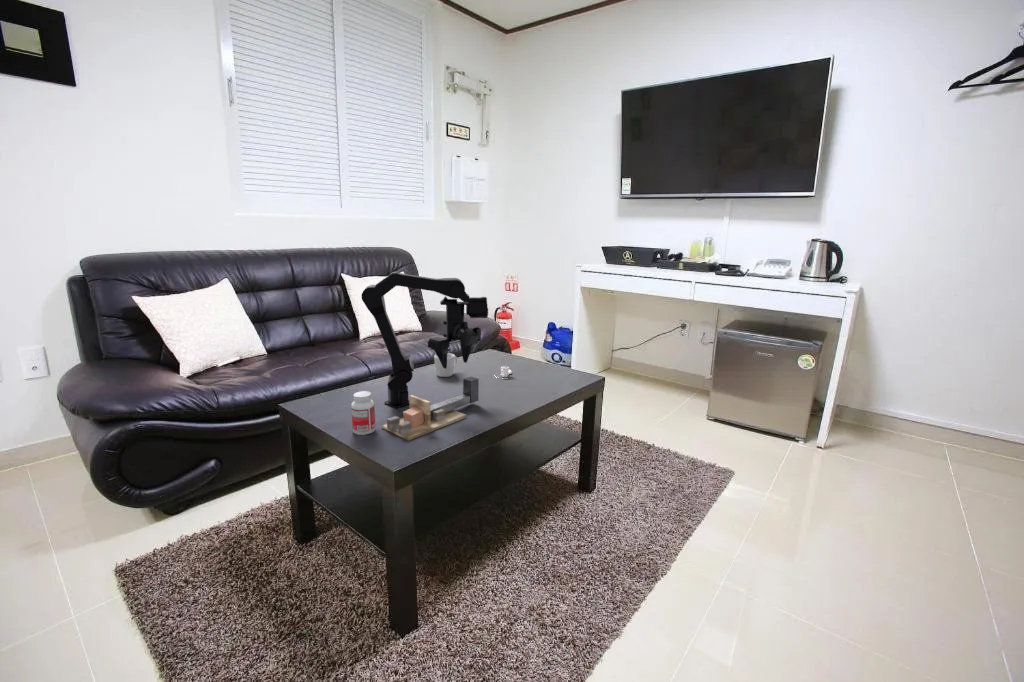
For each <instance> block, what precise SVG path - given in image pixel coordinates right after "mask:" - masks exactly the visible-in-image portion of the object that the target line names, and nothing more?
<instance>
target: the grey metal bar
mask: <svg viewBox="0 0 1024 682" xmlns="http://www.w3.org/2000/svg"><path fill="white" fill-rule="evenodd" d="M462 382H463V383H462V386H463V387H462V394H459V395H457V396H454V397H451V398H448V399H445V400H442V401H438V402H437V403H434V404H430V418H433V411H436V410H438V409H443V410H445V413H446V412H449V411H451V410H456V409H459V408H461V407H464V406H466V405H471V404H473V403H476V402H479V391H480V388H479V386H480V385H479V384H480V383H479V382H480V381H479V378H477V377H474V376H468V377H464V378H463V379H462ZM423 415H424V421H425V414H424V413H423Z"/></svg>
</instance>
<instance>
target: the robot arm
mask: <svg viewBox="0 0 1024 682" xmlns="http://www.w3.org/2000/svg"><path fill="white" fill-rule="evenodd" d="M395 287H404V288H409V289H410V288H411V289H417V290H423V291H428V292H429V291H430V292H434V293H438V294H439V295H443V296H444V297H443V299H441V300H440V301H439V303H440V305H441V306H445V310H446V311H445V314H446V315H445V317H446V319H445V321H444V320H443V325H445V326H446V327H445V333H443V337H439V336H436V337H431V338H428V340H427V348H430V350H432V351H434V352H435V353H434V354H435V355H436V354H437V356H438V358H439V360H440V362H441V364H442V366H443V368H445V369H446V368H447V353H450V350H451V349H449V348H450V345H451V344H452V345H453V344H455V343H459V342H460V349H461V356H462V361H463V363H467V362H468V360H469V357H470V355H471V352H472V349H473V347H474V346H475V345H478V344H479V342H480V341H481V340H482V330H481V328H480V327H479V326H477V327H474V328H472V327H471V328H470V327H469V326H468V325H469V324H468V321H465V314H466V316H468V317H469V318H470V319H488V317H489V307H488V297H487V296H481V297H470V295H469V294H468V293H467V292H466V287H465V284H464V282H463V281H462V280H461V279H459V278H457V277H444V278H443V277H441V278H434V277H427V276H419V275H414V274H407V273H401V272H397V271H392V272H390V273H389V274H388V276H386V277H384V278H383V279H382V280H380V281H379V282H377V283H375V284H370V285H367V286H366V287H365V289H364V290H362V293H361V300H362V302H363V304H364V305H365V307H366V309H367V310H368V311H369V313H370V314H371V315H372V316H373V319H374V320H375V322H376V325H377V327H378V330H379V332H380V334H381V337H382V339H383V342H384V344H385V347H386V349H387V351H388V354H389V357H390V362H391V368H392V373H390V374H389V376H388V380H387V396H388V400H385V401H384V404H385V405H387V406H390V407H392V408H395V409H398V408H401V407H404V406H407V405H410V398H409V389H408V388H409V386H408V383H410V382H411V381H412V379H413V374H414V371H415V369H414V368H415V364H414V363H413V362H412V359H411V354H407V355H405V354H406V353H404V352H403V350H402V347H401V346H400V342H399V340H398V337H397V335H396V333H395V330H394V328H393V325H392V322H391V320H390V317H389V315H388V312H387V309H386V307H387V306H386V302H385V301H386V299H385V295H386V294H388V293H389V292H390V291H392V290H393V289H394V288H395ZM459 300H461V301H459Z"/></svg>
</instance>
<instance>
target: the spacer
mask: <svg viewBox="0 0 1024 682" xmlns="http://www.w3.org/2000/svg"><path fill="white" fill-rule="evenodd" d="M402 414H403V415H402V417H403V418H404V422H406V421H408V422H411V427H412V428H415V427H417V426H419V425H421V424H423V423H424V415H423V410H421V409H418V408H416V407H412V408H410V407H409V409H406V410H404V411H402Z"/></svg>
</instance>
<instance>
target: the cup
mask: <svg viewBox="0 0 1024 682" xmlns="http://www.w3.org/2000/svg"><path fill="white" fill-rule="evenodd" d="M433 358H434V359H433V361H434V367H435V373H436V376H438V377H440V378H449V377H451V376H453V374H454V370H455V368H456V367H457V365H458V361H459V360H458V357H457V356H456V355H455V354H454V353H450V352H448V353H447V368H446V369H445V368H443V366H442V364H441V362H440V360H439V358H438V356H437V354H436V353H435V355H434V356H433Z"/></svg>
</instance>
